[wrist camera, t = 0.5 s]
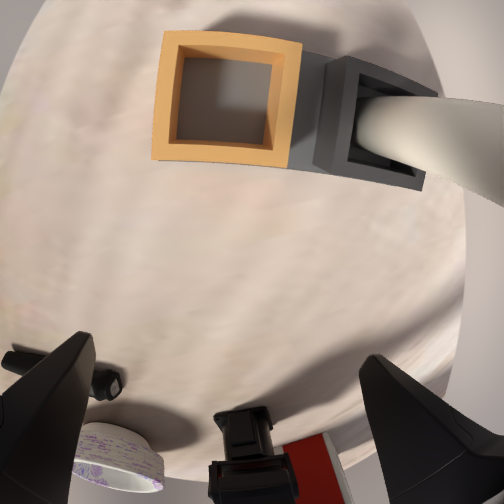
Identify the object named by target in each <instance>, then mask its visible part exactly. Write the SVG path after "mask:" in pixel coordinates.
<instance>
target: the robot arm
mask: <svg viewBox="0 0 504 504" xmlns="http://www.w3.org/2000/svg"><path fill="white" fill-rule="evenodd" d="M95 359H96V352H95V347H94V342H93V337H92V335H91V334H90V333H87V332H83V331H78V332H76V333H75V334H74V335H73V336H71V337H70V338H69V339H68V340H66V341H65V342H64V343H63V344H61V345H60V346H59V347H58V348H56V349H55V350H54V351H53V352H51V353H50V354H49V355H48V356H46V357H45V358H44V359H43V360H41V361H40V362H39V363H38V364H37V365H35V366H34V367H33V368H32V369H31V370H29V371H28V372H27V373H26V374H25V375H23V376H22V377H21V378H20V379H19V380H18V381H16V382H15V383H14V384H13V385H12V386H11V387H9V388H8V389H7V390H6V391H5V392H4V393H2V396H1V395H0V504H67V503H68V495H69V488H70V482H71V475H72V470H73V464H74V459H75V454H76V449H77V445H78V440H79V436H80V431H81V427H82V423H83V419H84V415H85V412H86V408H87V404H88V399H89V393H90V386H91V380H92V375H93V369H94V364H95ZM359 380H360V385H361V390H362V395H363V400H364V405H365V410H366V414H367V417H368V421H369V424H370V427H371V431H372V434H373V438H374V442H375V445H376V449H377V453H378V456H379V460H380V464H381V468H382V472H383V476H384V480H385V484H386V488H387V492H388V497H389V502H390V504H504V436H502V435H497V434H494V433H492V432H490V431H489V430H487V429H485V428H484V427H482V426H480V425H479V424H477V423H475V422H474V421H472V420H471V419H469V418H467V417H466V416H464V415H463V414H461V413H460V412H459V411H457V410H456V409H454V408H453V407H451V406H449V404H448V403H446V402H445V401H443V400H442V399H441V398H439V397H438V396H437V395H435V394H434V393H432V392H431V391H430V390H428V389H427V388H426V387H424V386H423V385H421V384H420V383H419V382H417V381H416V380H415V379H413V378H412V377H411V376H409V375H408V374H407V373H405V372H404V371H402V370H401V369H400V368H398V367H397V366H396V365H394V364H393V363H392V362H390V361H389V360H387V359H386V358H385V357H383V356H382V355H380V354H371V355H369V356H368V357H367V359H366V361H365V362H364V364H363V365H362V367H361V368H360V370H359ZM213 418H214V421H215V423H216V424H217V426H218V427H219V429H220V430H221V431H222V433H223V441H224V452H225V461H212V465H209V486H208V487H209V488H208V497H209V498H211V499H212V500H213V502H214V503H215V504H296V502H295V499H299V487H298V482H297V479H296V475H295V472H294V469H293V466H292V463H291V460H290V457H289V454H288V452H286V453H283V454H279V455H274V450H273V445H272V440H271V435H270V431H271V430H273V426H272V422H271V419H270V416H269V412H268V409H267V407H259V408H254V409H249V410H243V411H237V412H231V413H225V414H218V415H214V416H213ZM222 476H223V477H222Z"/></svg>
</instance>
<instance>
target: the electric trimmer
mask: <svg viewBox="0 0 504 504" xmlns="http://www.w3.org/2000/svg"><path fill="white" fill-rule="evenodd" d="M44 358H45V357H43V356H37V355H32V354H25V353H19V352H13V351H8V352H7V353H6V354H5V356H4V357H3V359H2V362H1V366H2V367H3V368H4V369H6V370H9V371H11V372H13V373H16V374H19V375H21V376H23V375H25V374H26V373H27V372H28V371H29V370H31V369H32V368H33V367H34V366H35V365H37V364H38V363H39V362H40V361H41V360H43V359H44ZM122 388H123V387H122V383H121V379H120V375H119V373H114V372H113V371H112V370H107V371H106V372H104V373H98V372H93V375H92V380H91V386H90V393H89V397H94V398H95V399H96V400H98V401H102V400H105V399H107V400H109V401H111V400H113V399H115V398H116V397H117V396H118V395H119V394H120V393H121V391H122Z"/></svg>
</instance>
